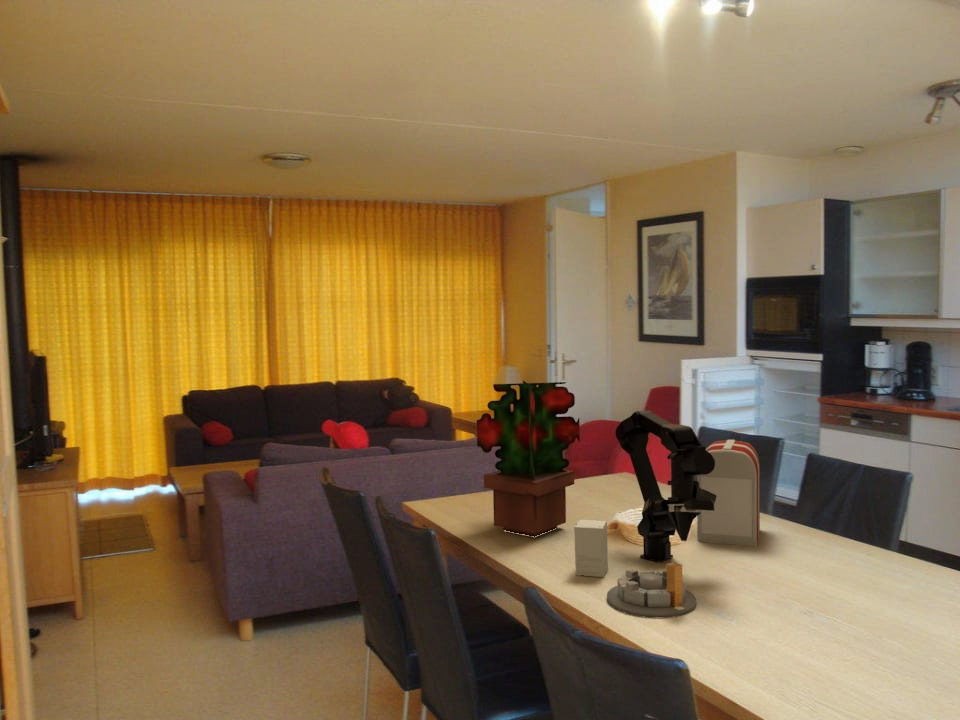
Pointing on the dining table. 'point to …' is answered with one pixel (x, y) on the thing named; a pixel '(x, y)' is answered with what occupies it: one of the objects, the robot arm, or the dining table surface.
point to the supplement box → (591, 548)
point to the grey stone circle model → (648, 584)
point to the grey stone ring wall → (653, 598)
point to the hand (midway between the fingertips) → (683, 540)
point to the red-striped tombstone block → (731, 495)
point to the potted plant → (529, 455)
